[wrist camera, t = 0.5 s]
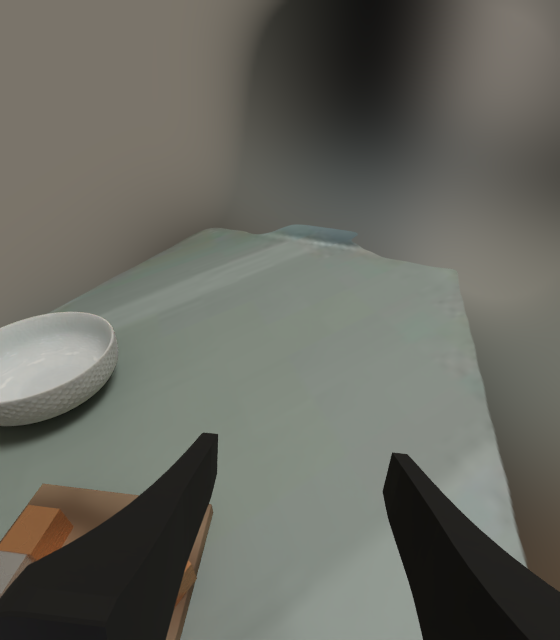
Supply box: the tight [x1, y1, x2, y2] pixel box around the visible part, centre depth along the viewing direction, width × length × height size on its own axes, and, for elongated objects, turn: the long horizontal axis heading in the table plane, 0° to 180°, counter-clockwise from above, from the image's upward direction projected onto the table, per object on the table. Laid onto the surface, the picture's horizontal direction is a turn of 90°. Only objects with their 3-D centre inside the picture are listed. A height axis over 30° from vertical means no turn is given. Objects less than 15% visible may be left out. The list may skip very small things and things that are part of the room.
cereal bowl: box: [0, 312, 118, 426], centre depth 38 cm, size 17×17×7 cm
